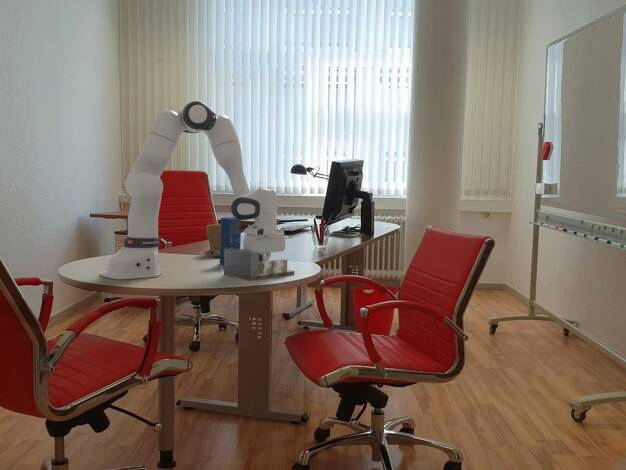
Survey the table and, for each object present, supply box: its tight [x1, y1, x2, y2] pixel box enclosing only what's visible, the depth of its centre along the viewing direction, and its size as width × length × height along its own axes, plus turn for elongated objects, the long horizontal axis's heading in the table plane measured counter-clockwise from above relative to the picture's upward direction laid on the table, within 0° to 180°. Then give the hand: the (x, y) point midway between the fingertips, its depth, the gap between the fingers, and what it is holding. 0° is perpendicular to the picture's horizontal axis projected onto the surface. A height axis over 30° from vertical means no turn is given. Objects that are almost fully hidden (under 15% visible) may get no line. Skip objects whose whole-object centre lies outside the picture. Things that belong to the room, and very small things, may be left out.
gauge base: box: [223, 258, 295, 282], centre depth 255 cm, size 24×15×6 cm, turn 138°
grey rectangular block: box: [223, 248, 259, 277], centre depth 248 cm, size 4×15×9 cm, turn 48°
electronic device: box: [219, 216, 242, 266], centre depth 280 cm, size 10×5×20 cm, turn 152°
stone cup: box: [204, 223, 221, 258], centre depth 303 cm, size 15×12×15 cm
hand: (264, 263), depth 258 cm, fingers closed
